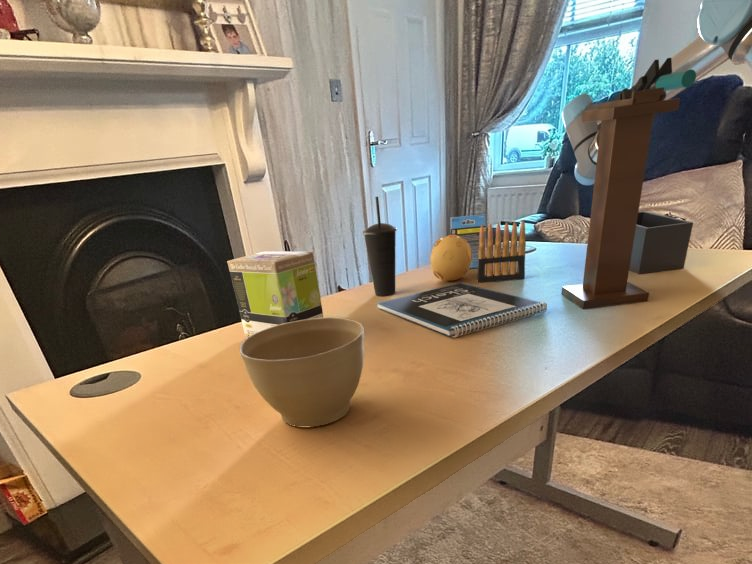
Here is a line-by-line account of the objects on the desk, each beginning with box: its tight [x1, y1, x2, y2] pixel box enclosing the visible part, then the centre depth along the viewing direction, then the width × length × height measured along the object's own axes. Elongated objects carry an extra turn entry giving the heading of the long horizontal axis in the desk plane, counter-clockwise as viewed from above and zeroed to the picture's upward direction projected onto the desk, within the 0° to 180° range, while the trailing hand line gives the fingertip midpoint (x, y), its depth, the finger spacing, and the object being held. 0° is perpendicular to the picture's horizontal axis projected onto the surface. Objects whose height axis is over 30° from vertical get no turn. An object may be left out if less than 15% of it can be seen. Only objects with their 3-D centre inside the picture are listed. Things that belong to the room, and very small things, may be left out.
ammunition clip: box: [477, 220, 527, 284], centre depth 120 cm, size 11×2×12 cm, turn 79°
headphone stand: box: [561, 87, 681, 310], centre depth 94 cm, size 13×12×32 cm
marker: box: [649, 69, 696, 91], centre depth 104 cm, size 18×3×3 cm, turn 2°
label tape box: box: [449, 213, 487, 270], centre depth 134 cm, size 9×4×12 cm, turn 79°
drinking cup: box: [362, 196, 398, 297], centre depth 120 cm, size 8×8×20 cm
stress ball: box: [429, 234, 472, 282], centre depth 126 cm, size 10×10×10 cm
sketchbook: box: [376, 282, 548, 339], centre depth 107 cm, size 22×30×2 cm
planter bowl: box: [238, 316, 365, 428], centre depth 71 cm, size 16×16×11 cm
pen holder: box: [629, 210, 694, 275], centre depth 120 cm, size 22×10×9 cm, turn 2°
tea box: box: [226, 250, 325, 335], centre depth 104 cm, size 15×10×15 cm
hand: (663, 66), depth 104 cm, fingers closed on marker, 2 cm apart
